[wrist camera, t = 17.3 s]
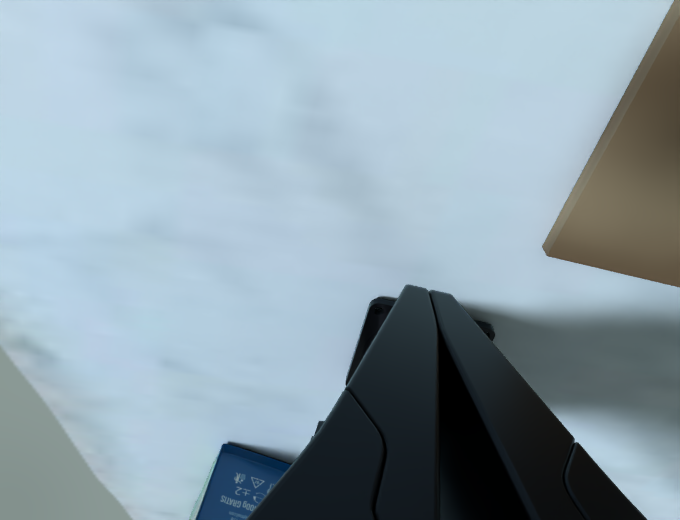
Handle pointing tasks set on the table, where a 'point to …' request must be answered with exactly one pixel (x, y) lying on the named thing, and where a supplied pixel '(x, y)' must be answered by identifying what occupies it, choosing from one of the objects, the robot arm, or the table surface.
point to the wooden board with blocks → (632, 177)
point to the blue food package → (236, 484)
